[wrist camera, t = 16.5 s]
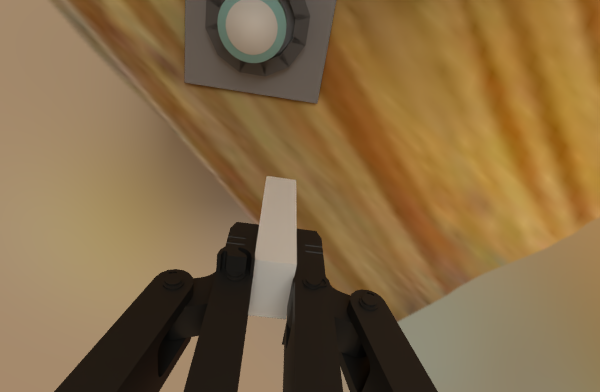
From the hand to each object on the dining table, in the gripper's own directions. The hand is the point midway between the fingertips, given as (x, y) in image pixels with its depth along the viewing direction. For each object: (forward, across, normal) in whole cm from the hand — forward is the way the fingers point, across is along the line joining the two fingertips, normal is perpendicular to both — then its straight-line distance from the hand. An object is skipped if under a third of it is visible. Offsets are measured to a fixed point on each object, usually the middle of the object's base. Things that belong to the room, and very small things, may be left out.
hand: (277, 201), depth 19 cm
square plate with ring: (+29, -4, +6) cm, 30 cm away
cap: (+28, -4, +6) cm, 29 cm away
